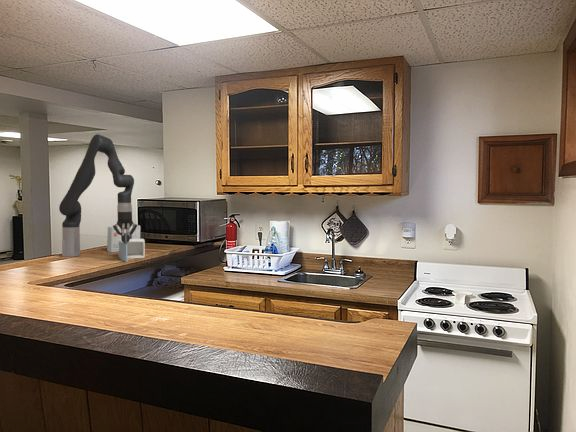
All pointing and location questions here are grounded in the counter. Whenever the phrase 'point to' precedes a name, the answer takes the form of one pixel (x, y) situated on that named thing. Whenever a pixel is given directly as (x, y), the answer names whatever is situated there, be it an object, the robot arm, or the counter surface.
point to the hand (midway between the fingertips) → (125, 242)
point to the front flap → (123, 249)
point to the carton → (135, 248)
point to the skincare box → (114, 238)
